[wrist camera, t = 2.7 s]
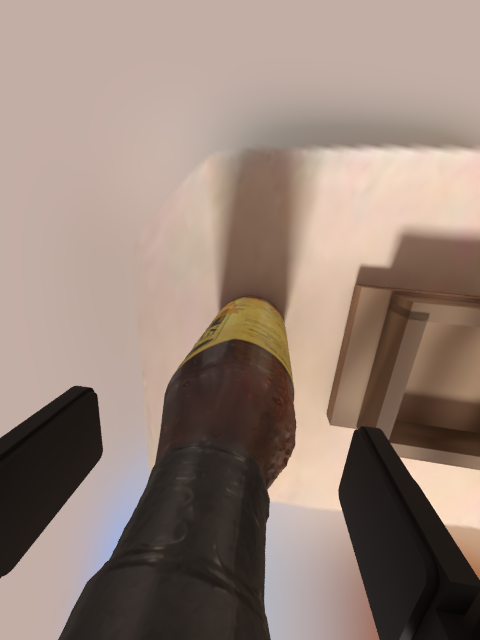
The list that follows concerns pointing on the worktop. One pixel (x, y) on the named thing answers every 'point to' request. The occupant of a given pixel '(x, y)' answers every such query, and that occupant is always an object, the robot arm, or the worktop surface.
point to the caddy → (412, 373)
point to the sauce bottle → (204, 494)
